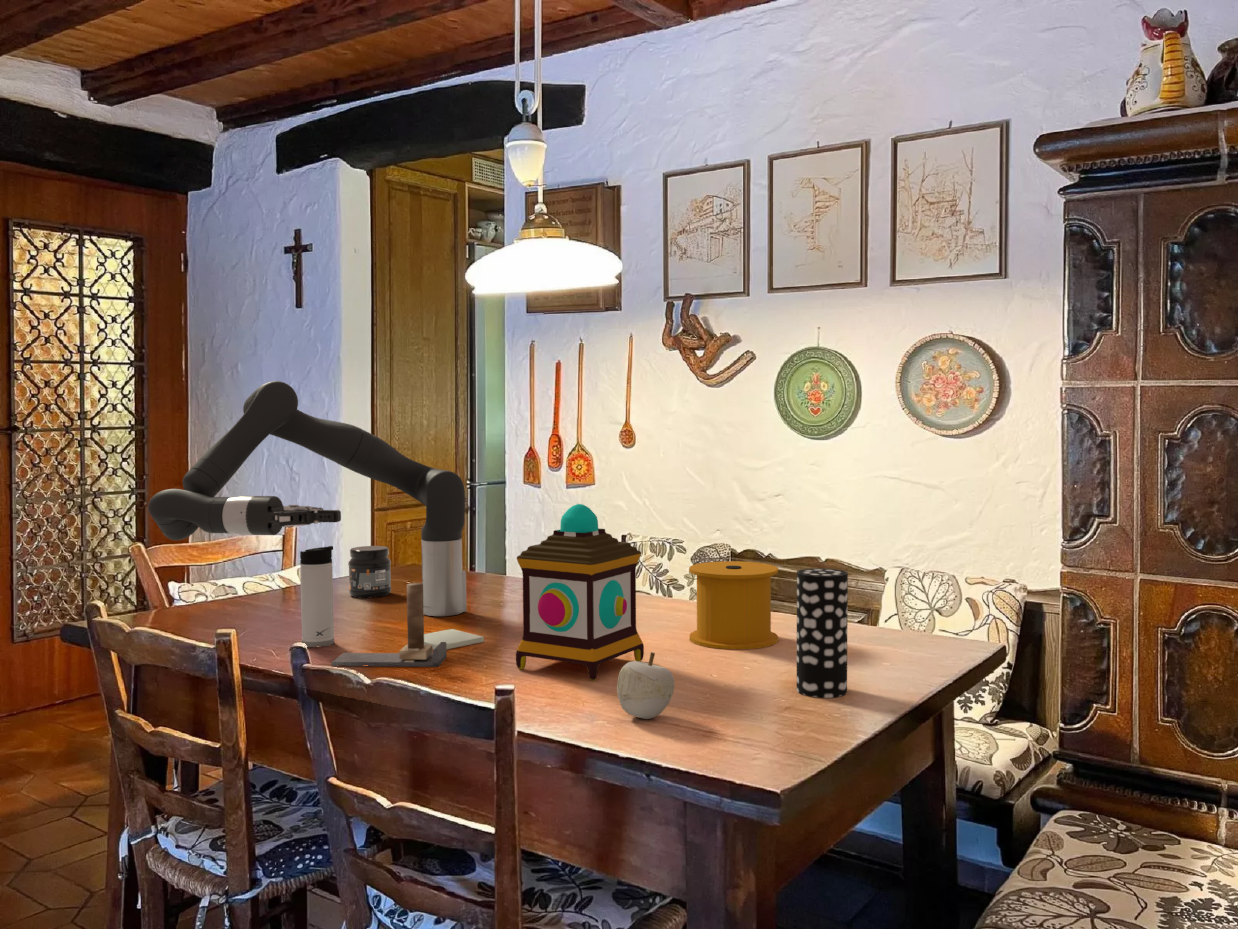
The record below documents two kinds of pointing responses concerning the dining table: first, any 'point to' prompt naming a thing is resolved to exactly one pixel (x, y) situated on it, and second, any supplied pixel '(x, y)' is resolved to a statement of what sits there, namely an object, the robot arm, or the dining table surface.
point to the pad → (451, 638)
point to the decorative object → (644, 688)
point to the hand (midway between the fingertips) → (339, 516)
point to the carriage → (415, 625)
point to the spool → (733, 605)
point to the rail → (392, 659)
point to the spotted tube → (822, 632)
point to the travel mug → (317, 596)
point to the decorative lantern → (579, 595)
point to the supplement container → (369, 571)
